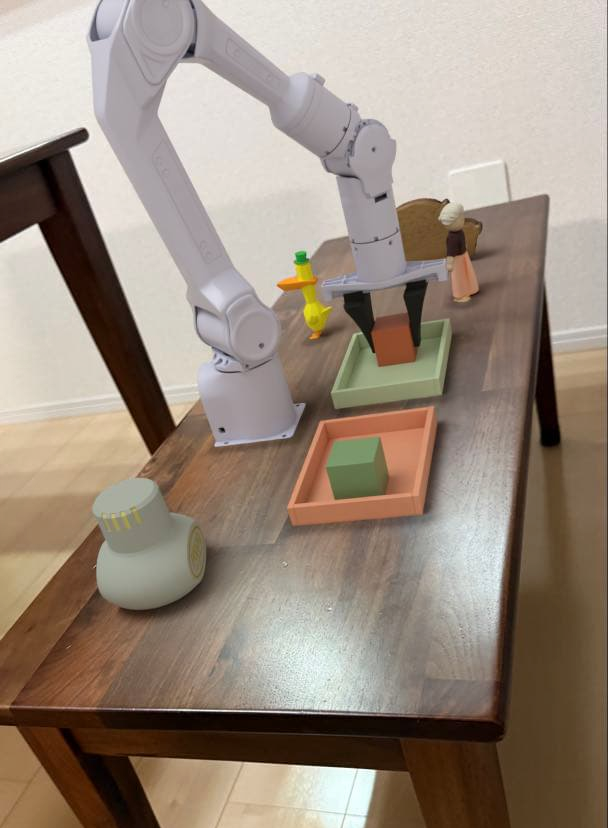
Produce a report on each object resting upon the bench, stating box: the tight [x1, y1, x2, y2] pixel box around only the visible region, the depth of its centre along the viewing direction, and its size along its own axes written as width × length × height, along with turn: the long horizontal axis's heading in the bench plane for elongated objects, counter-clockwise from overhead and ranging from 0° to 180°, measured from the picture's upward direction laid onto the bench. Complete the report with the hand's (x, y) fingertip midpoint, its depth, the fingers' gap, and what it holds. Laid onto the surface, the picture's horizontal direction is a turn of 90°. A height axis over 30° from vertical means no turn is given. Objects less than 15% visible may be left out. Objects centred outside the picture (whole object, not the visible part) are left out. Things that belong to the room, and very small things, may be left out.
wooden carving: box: [396, 197, 484, 262], centre depth 125 cm, size 16×5×10 cm, turn 77°
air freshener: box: [91, 477, 207, 611], centre depth 74 cm, size 11×8×10 cm
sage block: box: [326, 436, 389, 500], centre depth 78 cm, size 4×4×4 cm
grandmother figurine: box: [438, 202, 480, 303], centre depth 110 cm, size 8×4×13 cm, turn 168°
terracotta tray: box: [286, 405, 438, 527], centre depth 82 cm, size 12×16×3 cm
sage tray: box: [330, 317, 453, 410], centre depth 99 cm, size 12×16×3 cm
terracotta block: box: [371, 311, 418, 367], centre depth 101 cm, size 4×4×4 cm
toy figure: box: [276, 250, 333, 340], centre depth 112 cm, size 7×4×12 cm, turn 73°
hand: (397, 346), depth 102 cm, fingers closed on terracotta block, 4 cm apart
